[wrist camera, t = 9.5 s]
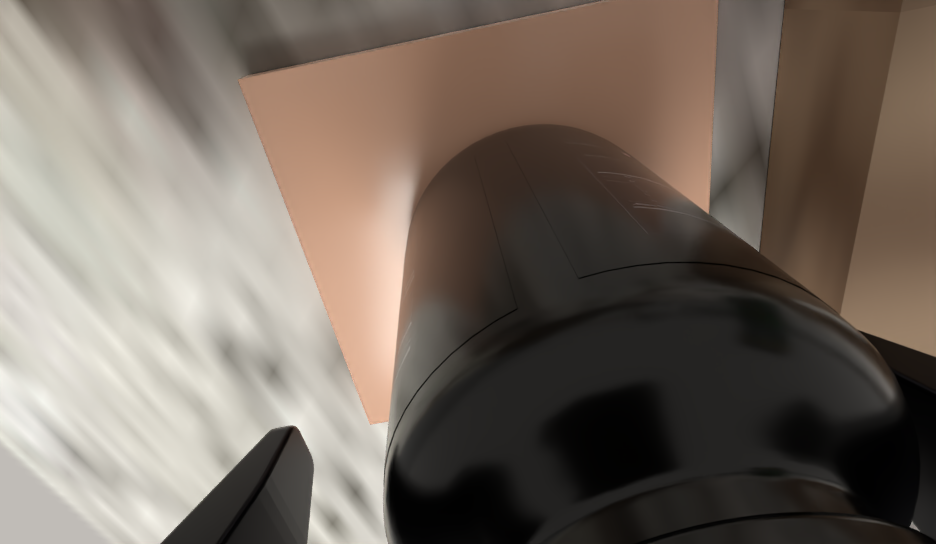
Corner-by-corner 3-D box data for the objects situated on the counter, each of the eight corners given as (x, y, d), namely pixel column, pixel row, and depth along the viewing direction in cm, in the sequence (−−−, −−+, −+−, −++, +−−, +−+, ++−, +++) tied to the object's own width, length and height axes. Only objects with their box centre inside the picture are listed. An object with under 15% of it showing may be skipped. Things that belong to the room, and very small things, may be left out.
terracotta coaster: (691, 350, 17) (702, 365, 16) (372, 407, 18) (369, 424, 17) (702, -21, 12) (719, -23, 11) (249, 75, 12) (237, 79, 12)
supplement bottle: (549, 377, 16) (753, 1074, 6) (361, 274, 14) (137, 1076, 4) (709, 210, 14) (1587, 900, 3) (510, 55, 12) (1174, 585, 1)
